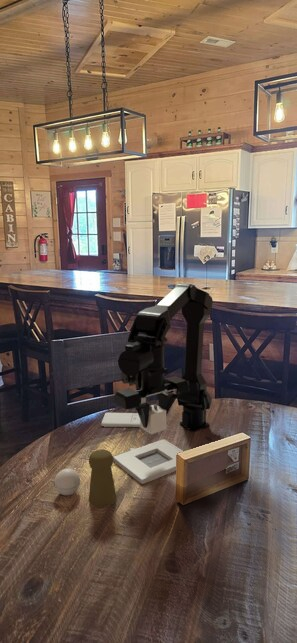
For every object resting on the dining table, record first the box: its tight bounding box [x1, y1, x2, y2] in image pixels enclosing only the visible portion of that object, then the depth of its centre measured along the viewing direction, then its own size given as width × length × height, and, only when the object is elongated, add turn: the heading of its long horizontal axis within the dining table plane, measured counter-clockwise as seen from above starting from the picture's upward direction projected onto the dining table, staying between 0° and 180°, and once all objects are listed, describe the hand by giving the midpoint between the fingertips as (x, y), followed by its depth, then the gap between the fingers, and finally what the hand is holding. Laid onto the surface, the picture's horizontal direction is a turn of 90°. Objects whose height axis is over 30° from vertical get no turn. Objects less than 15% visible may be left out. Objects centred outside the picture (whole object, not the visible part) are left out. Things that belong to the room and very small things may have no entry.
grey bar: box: [112, 447, 135, 457], centre depth 114 cm, size 9×2×1 cm, turn 125°
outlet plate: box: [113, 438, 184, 485], centre depth 112 cm, size 16×13×1 cm
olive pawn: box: [88, 448, 117, 508], centre depth 96 cm, size 6×6×11 cm
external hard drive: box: [100, 412, 140, 428], centre depth 136 cm, size 2×8×12 cm
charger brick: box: [139, 403, 167, 435], centre depth 110 cm, size 5×5×6 cm
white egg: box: [53, 468, 81, 496], centre depth 98 cm, size 8×6×6 cm
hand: (153, 424), depth 110 cm, fingers closed on charger brick, 5 cm apart
